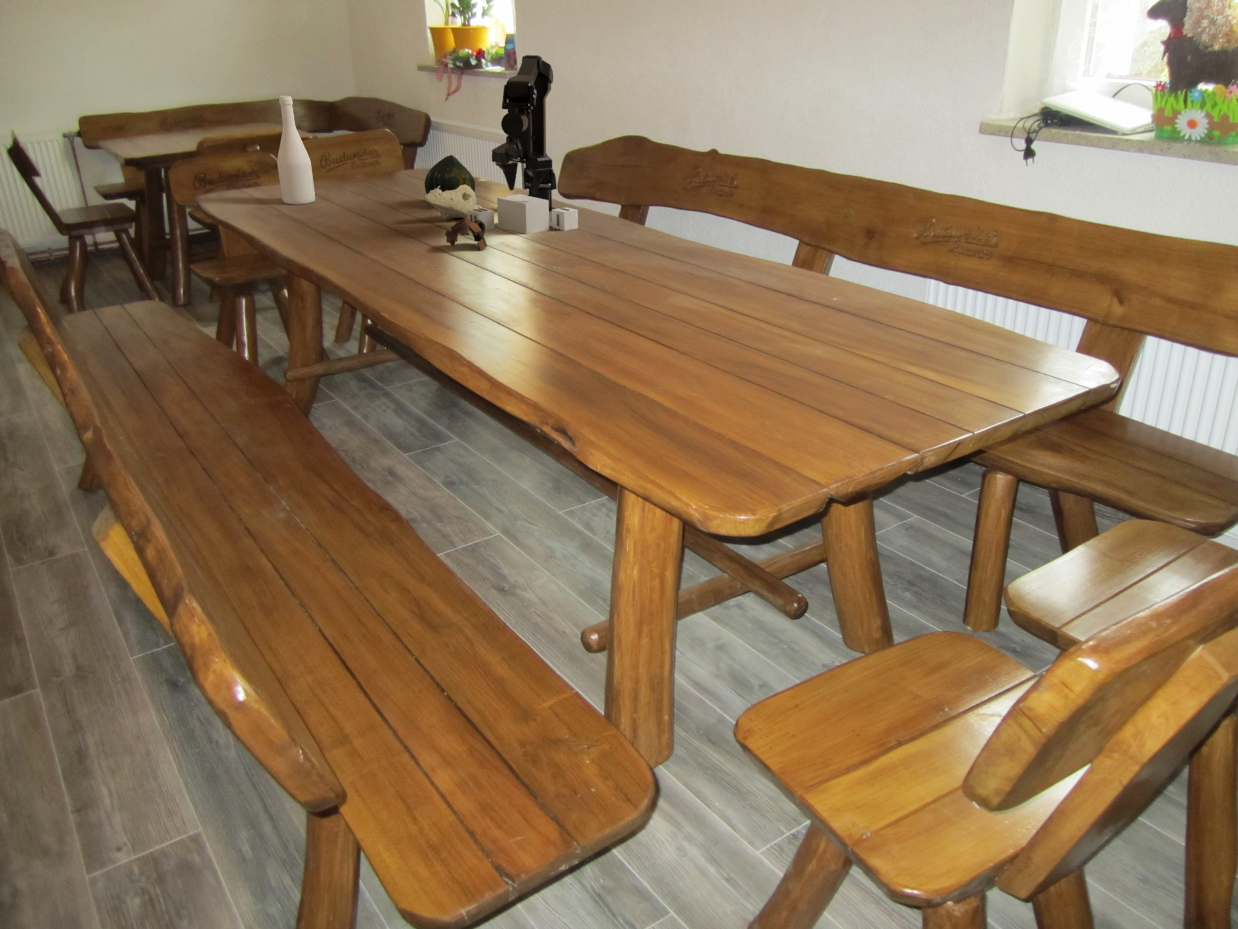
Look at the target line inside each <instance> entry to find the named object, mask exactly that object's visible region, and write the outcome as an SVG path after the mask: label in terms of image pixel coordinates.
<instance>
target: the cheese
mask: <svg viewBox="0 0 1238 929" xmlns="http://www.w3.org/2000/svg"><path fill="white" fill-rule="evenodd" d="M439 187H440V186H439ZM439 187H438V188H439ZM438 188H436V189H434V190H430V193H428V194H426V195H425V196H424V198H423V199H424V201H425V202H426V203H429V204H430V205H431V206H432V207H434V208H435V209H436V210H437V212H438V213H440V214H439V215H440V216H441V218H442V219H443V221H446V220H450V219H452V218H454V219H466V218H468V210H472V209H478V208H483V206H481V205H479V204H477V202H478V200H477V196H476V192H475V193H474V191H473V190H472V189H471V188H470V187H469V186H467V185H461V186H459V187H458V188H457V189H455V190H450V191H447V190H446V191H444V192H442V191H441V190H439V189H438Z"/></svg>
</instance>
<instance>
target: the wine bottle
mask: <svg viewBox="0 0 1238 929" xmlns="http://www.w3.org/2000/svg"><path fill="white" fill-rule="evenodd" d="M278 101H279V105H280V108H281V118H282V119H281V120H282V133H281V137H280V138H281V139H280V144H279V149H278V154H277V160H276V163H277V171H278V177H279V178H278V179H279V184H280V191H281V192H280V193H281V198H282V201H283V203H284V204H287V205H295V206H296V205H299V206H300V205H307V204H312V203H314V202H315V201H316V193H315V185H314V177H313V170H312V169H313V168H312V161H311V159H310V156H309V154H308V151H307V149H306V147H305V145H304V142H303V140H302V138H301V136H300V134H299V132H298V130H297V126H296V122H295V115H294V107H293V104H294V103H293V98H292V96H291V95H280V96H279V98H278Z"/></svg>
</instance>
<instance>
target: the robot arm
mask: <svg viewBox="0 0 1238 929" xmlns="http://www.w3.org/2000/svg"><path fill="white" fill-rule="evenodd" d="M553 82H554V71H553V67H552V66H551V64H550V63H548V62H547V61H545V60H544V59H543V57H542V56H539V55H538V54H537V55H535V54H533V55H532V54H525V55H523V56H522V58H521V63H520V66H519V69H518V71H517V74H516V75H515V76H511V77H509V78H508V80H506V83H505V84H504V86H503V92H502V93H503V94H502V103H501V109H502V110H507V113H506V114H504V116H503V117H502V119H501V122H500V125H501V126H500V127H501V129H502V132H504V134H506V137H505V142H504V143H502V144H500V145H498V146H496V147H495V148H493V149H492V150H491V162H492V163H494V164H495V166H497V167H498V168H499V169H500V170H501V171H502V173H503V175H504V178H505V180H506V183H507V186H508V189H509V191H514V190H515V185H516V180H517V172H518V168H519V167H518V165H519V163H520V164H525V167H524V168H523V184H524V190H528V194H527V196H531V197H535V198H540V199H544V200H549V210H550V211H552V209H556V207H553V202H552V201H553V199H552V196H553V194H552V192H553V191H554V190H557V177H556V176H557V175H556V173H555V171H554V168H553V159H552V158H551V156H548V153H547V121H546V120H547V118H546V117H547V116H546V115H547V109H546V107H547V106H546V104H547V101H546V99H547V97H548V96H549V94H550V92H551V91H552V84H553Z"/></svg>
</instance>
